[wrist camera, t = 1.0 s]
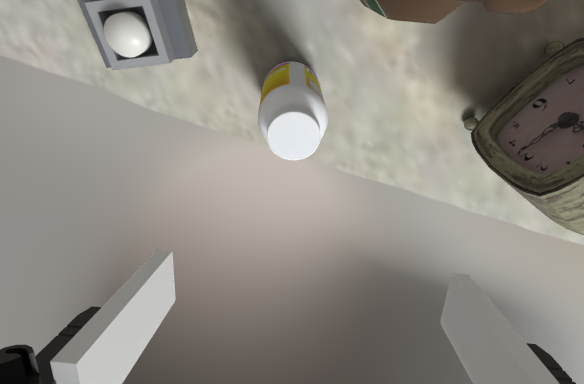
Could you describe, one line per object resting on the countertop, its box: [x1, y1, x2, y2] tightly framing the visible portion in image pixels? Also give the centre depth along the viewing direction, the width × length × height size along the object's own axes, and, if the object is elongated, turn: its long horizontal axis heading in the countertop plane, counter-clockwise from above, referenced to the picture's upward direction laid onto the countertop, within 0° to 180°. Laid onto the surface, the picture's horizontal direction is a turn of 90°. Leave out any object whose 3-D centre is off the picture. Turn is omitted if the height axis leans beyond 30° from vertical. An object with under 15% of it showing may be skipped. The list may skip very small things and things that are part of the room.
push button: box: [104, 11, 153, 57], centre depth 30 cm, size 4×4×2 cm
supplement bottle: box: [258, 61, 328, 160], centre depth 33 cm, size 7×7×13 cm
